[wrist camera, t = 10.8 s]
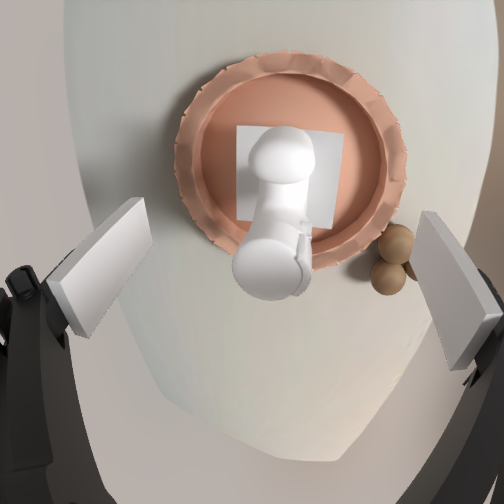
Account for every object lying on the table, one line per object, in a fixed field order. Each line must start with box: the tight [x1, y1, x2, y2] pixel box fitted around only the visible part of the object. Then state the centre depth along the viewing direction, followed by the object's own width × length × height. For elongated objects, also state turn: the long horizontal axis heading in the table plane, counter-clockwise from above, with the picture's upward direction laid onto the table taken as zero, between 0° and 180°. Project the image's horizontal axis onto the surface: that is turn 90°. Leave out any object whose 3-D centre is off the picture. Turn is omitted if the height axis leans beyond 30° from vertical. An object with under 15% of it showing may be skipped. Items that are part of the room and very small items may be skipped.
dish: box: [174, 50, 407, 271], centre depth 23 cm, size 19×18×3 cm
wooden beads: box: [370, 224, 418, 295], centre depth 25 cm, size 7×7×4 cm
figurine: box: [232, 126, 344, 301], centre depth 17 cm, size 7×9×15 cm
